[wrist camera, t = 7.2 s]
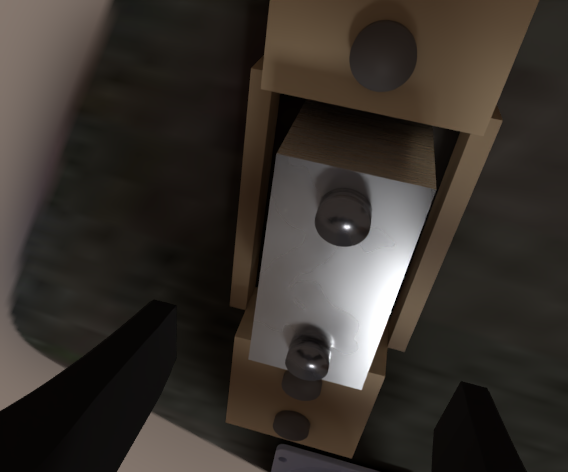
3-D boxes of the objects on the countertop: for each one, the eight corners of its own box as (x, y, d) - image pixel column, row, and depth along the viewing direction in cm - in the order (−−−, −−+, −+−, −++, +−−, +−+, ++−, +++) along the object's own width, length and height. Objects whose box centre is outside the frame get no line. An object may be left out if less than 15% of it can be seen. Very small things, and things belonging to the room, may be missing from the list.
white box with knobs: (372, 293, 20) (359, 405, 16) (280, 270, 21) (243, 372, 16) (431, 114, 16) (437, 202, 11) (311, 89, 16) (271, 164, 12)
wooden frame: (371, 407, 24) (365, 471, 22) (231, 368, 25) (208, 425, 22) (596, -144, 11) (651, -156, 9) (289, -190, 12) (251, -215, 9)
